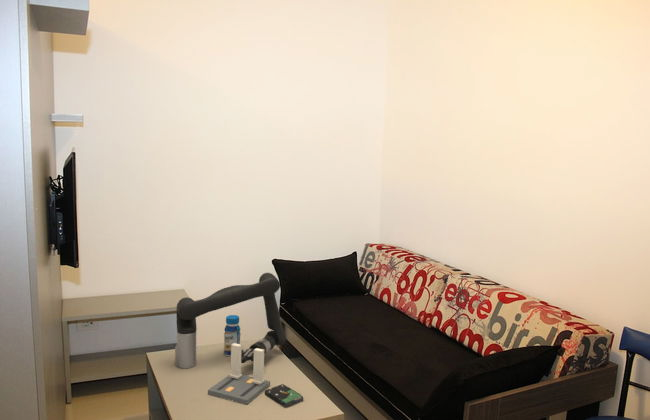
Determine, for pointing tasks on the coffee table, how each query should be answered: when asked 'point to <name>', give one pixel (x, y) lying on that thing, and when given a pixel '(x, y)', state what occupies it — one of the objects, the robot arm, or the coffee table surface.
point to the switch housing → (238, 389)
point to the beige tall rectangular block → (258, 366)
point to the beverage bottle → (231, 333)
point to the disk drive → (284, 395)
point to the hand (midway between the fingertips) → (241, 361)
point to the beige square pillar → (236, 361)
